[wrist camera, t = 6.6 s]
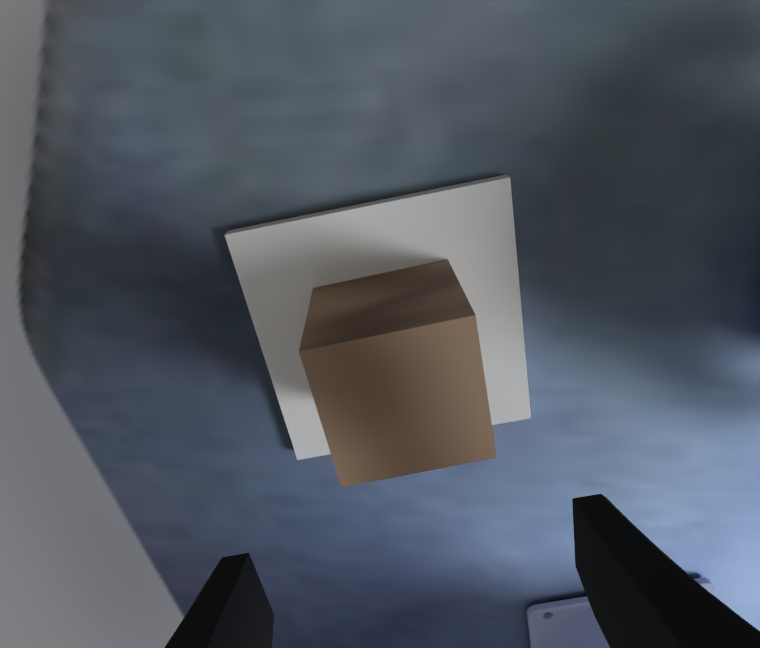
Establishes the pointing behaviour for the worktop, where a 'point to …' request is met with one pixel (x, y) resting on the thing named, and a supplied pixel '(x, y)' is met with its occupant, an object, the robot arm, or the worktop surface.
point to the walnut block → (397, 373)
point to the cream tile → (379, 255)
